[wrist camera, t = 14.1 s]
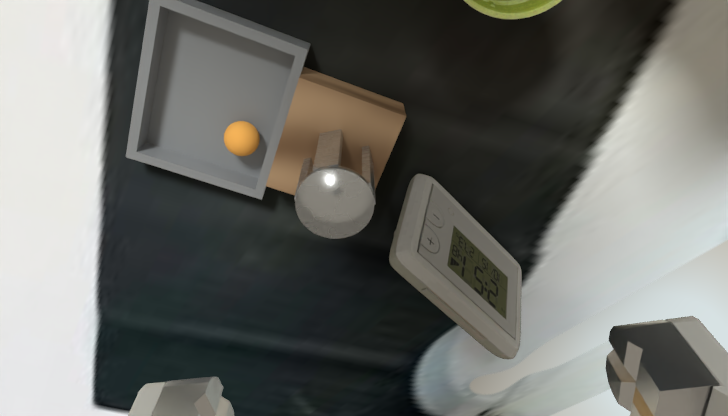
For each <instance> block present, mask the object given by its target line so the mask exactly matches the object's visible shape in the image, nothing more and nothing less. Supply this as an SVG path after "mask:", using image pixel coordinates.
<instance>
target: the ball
mask: <svg viewBox="0 0 728 416" xmlns="http://www.w3.org/2000/svg"><path fill="white" fill-rule="evenodd" d="M259 142H260V137H259V133H258V131H257V129H256V128H255V127H254V126H253V125H252V124H251V123H249V122H246V121H237V122H234V123H232V124H230V125H229V126H228V127H227V129H226V130H225V133H224V143H225V146H226V147H227V149H228V150H229V151H230V152H231V153H233V154H235V155H237V156H247V155H250V154H252V153H253V152H254V151H255V150H256V149H257V148H258V145H259Z"/></svg>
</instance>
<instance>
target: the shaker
mask: <svg viewBox="0 0 728 416" xmlns="http://www.w3.org/2000/svg"><path fill="white" fill-rule="evenodd" d="M342 142H343V134H342V130H341V129H339V130H334V131H329V132H325V133H320V136H319V141H318V146H317V151H316V155H315V160H314V165H313V163H312V160H311V158H307V159H304V161H303V165H302V169H301V173H300V177H299V181H298V185H297V189H296V193H295V197H294V199H295V207H296V212H297V215H298V217H299V219H300V221H301V222H302V223H303V225H304V226H305V227H306V228H307V229H309V230H310V231H312V232H313V233H315V234H317V235H319V236H322V237H326V238H333V239H339V238H346V237H349V236H352V235H354V234H356V233H358V232H359V231H361V230H362V229H363V228H364V227H365V226H366V225H367V224H368V223H369V221H370V220H371V217H372V215H373V212H374V205H376V200H375V182H374V165H373V161H372V156H371V152H370V148H369V146H364V147H362V175H360V174H359V173H357V172H356V171H354V170H352V169H349V168H347V167H342V166H341V154H342Z"/></svg>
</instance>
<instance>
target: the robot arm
mask: <svg viewBox="0 0 728 416" xmlns="http://www.w3.org/2000/svg"><path fill="white" fill-rule="evenodd" d="M609 342H610V343H611V345H612V347H613V348H614V349H613V350H612V351H611V352H610V353H609V354H608V355H607V360H606V372H607V377H608V382H609V385H610V388H611V390H612V392H613V395H614V397H615V398H616V400H617V402H618V404H620V405H621V406H623V407H624V408H626V409H627V410H629V411H631V414H630V416H728V353H727V352H726V350H725V349H724V348H723V347H722V346H721V345H720V343H718V341H717V340H716V339H715V338H714V337H713V335H712V334H711V333H710V332H709V331H708V330H707V328H706V327H705V326H704V325H703V324H702V323H701V321H700V320H699V319H697V318H695V317H693V316H689V317H681V318H674V319H666V320H657V321H650V322H642V323H635V324H627V325H620V326H614V327H613V328H612V329H611V331H610V336H609ZM222 390H223V386H222V384H221V382H220V380H219V378H218V377H206V378H196V379H186V380H175V381H168V382H159V383H149V384H146V385H145V386H143V387H142V388H141V389H140V391H139V393H138V395H137V397H136V399H135V401H134V404H133V406H132V408H131V410H130V412H129V414H128V416H234V412H233V408H232V406H231V404H230V401H228V400H226V399H225V398H223V397H221V394H222Z"/></svg>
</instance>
